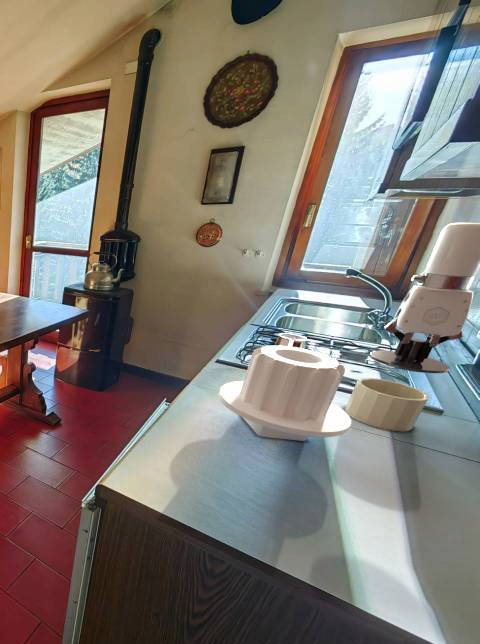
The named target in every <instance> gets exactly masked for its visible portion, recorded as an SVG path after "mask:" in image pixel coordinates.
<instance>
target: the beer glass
mask: <svg viewBox="0 0 480 644" xmlns="http://www.w3.org/2000/svg"><path fill="white" fill-rule="evenodd" d="M307 340H308V338H307V337H306V336H303V335H300V334H295V333H287V332H283V333H282V332H281V333H279V334H278V336H277V338H276V340H275V343H274V345H273V346H279V345H282V346H290V347H297V348H302V349H306V345H307Z"/></svg>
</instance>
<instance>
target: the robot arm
mask: <svg viewBox="0 0 480 644" xmlns="http://www.w3.org/2000/svg"><path fill="white" fill-rule="evenodd" d="M440 231H441V232H440V234H439V236H438V238H437V240H436V243H435V245H434V247H433V250H432V251H431V254H430V257H429V259H428V261H427V263H426V266H425V268H424V270H423V271H422V272H421V273H420V274H416V275H415V274H414V275H412V277H411V279H410V280H411V282H415V283H417V285H413V286H412V287H411V288H410V290H409V291H408V292H407V294H406V295H405V297H404V298H403V300H402V302H401V303H400V305H399V306H398V309H397V311H396V312H395V314H394V317H393V319H391V320H390V321H389V322H388V323H387V324H386V325H385V326H384V327H383V329H384V330H385V331H386V332H388V333H390V334H392V335H394V336H395V337H396V338H397V340H398V341H399V342H398V344H397V346H396V348H395V350H394V351H395V355H396V357H397V358H398V359H399V360H405V358H406V356H407V354H408V352H409V350H410V347H411V345H410V340H411V339H413V338H414V334H415V333H416V334H424V335H426V336H425V339H424V341H425V343H424V345H423V347H422V349H421V352H420V354H419V356H418V358H417V360H416V361H418V362H420V363H423V361H424V359H427V358H429V356H430V354H431V352H432V350H433V348H435V347H437V346H438V345H440V344H443V343H445V342H447V341H453V340H459V339H462V338H463V328H464V327H465V324H466V322H467V319H468V316H469V313H470V310H471V307H472V304H473V299H474V293H475V291H474V290H470V288H471V287H472V284H473V282H474V280H475V278H476V276H477V274H478V272H479V270H480V222H453V223H449V224H447V225H445V226H444V227H443V228H442V230H440Z"/></svg>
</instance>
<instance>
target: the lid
mask: <svg viewBox="0 0 480 644" xmlns="http://www.w3.org/2000/svg"><path fill="white" fill-rule="evenodd" d="M424 343H425V340H423V339H418V338H411V340H410V345H411V347H410V350H409V352H408V354H407V356H406V358H405V360H399V359H398V358H397V357H396V355H395V351H396V350H375V351H374V350H373V351H371V352H370V354H369V357H370V359H372V360H373V361H375V362H378V363H380V364H383V365H386V366H388V367H391V368H395V369H398V370H402V371H408V372H414V373H425V374H446V373H449V372H450V370H451V366H450V365H449V364H447V363H445V362H442V361H440V360H437V359H434V358H432V357H428V358H427V359H424V361H423V363H420V362H418V361H416V360H417V358H418V356H419V354H420V352H421V349H422V347H423V345H424Z"/></svg>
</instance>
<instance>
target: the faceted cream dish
mask: <svg viewBox="0 0 480 644" xmlns="http://www.w3.org/2000/svg"><path fill="white" fill-rule="evenodd" d="M429 398H430V396H429V394H427V393H426V392H424V391H422V390H421V389H418V388H416V387H413V386H410V385H408V384H405V383H401V382H396V381H393V380H388V379H383V378H375V377H374V378H373V377H365V378H364V377H363V378H359V379H358V380H357V381H356V383H355V386H354V388H353V390H352V393H351V394H350V397H349V399H348V400H347V403H346V406H345V409H344V411H345V412H346V413H347V414H348V415H349V417H350V418H353V419H354V420H355V421H358V422H360V423H363V424H366V425H369V426H370V427H375V428H378V429H381V430H387V431H393V432H409V431H411V430H412V429H413V428H414V426H415V424H416V422H417V420H418V418H419V417H420V415H421V413H422V411H423V410H424V409H425V408H424V407H425V406H426V404H427V402H428V400H429Z"/></svg>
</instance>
